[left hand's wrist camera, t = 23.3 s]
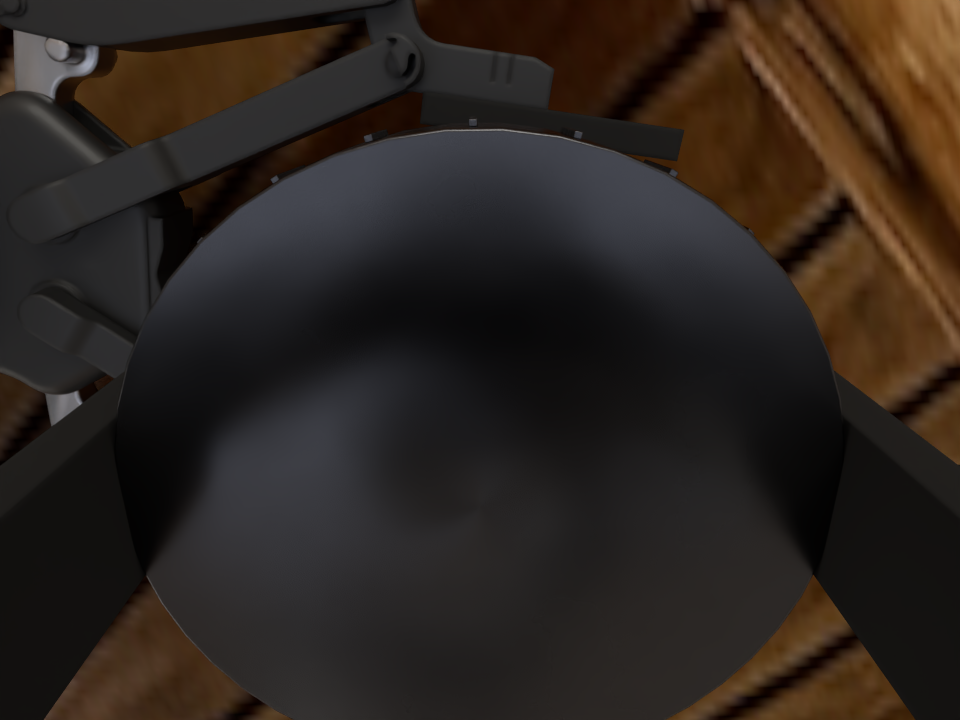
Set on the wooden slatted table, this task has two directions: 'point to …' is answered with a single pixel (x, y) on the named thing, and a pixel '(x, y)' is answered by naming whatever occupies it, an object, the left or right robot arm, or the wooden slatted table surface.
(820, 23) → the wooden slatted table surface
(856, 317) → the wooden slatted table surface
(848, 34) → the wooden slatted table surface
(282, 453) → the lid
